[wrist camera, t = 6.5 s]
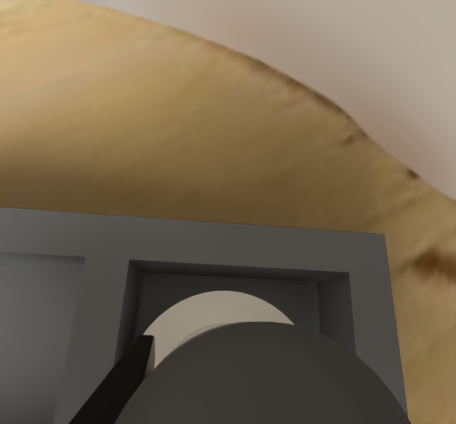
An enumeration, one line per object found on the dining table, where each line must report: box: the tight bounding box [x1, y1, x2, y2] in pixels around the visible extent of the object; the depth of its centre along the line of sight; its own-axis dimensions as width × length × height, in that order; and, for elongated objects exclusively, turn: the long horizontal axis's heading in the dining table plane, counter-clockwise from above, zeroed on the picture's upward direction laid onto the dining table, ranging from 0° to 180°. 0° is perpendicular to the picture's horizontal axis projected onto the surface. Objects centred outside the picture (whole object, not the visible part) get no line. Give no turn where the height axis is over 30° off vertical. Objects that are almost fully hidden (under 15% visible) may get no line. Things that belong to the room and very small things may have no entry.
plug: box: [115, 291, 411, 424], centre depth 8 cm, size 6×6×9 cm
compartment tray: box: [0, 207, 408, 424], centre depth 12 cm, size 20×11×6 cm, turn 88°
